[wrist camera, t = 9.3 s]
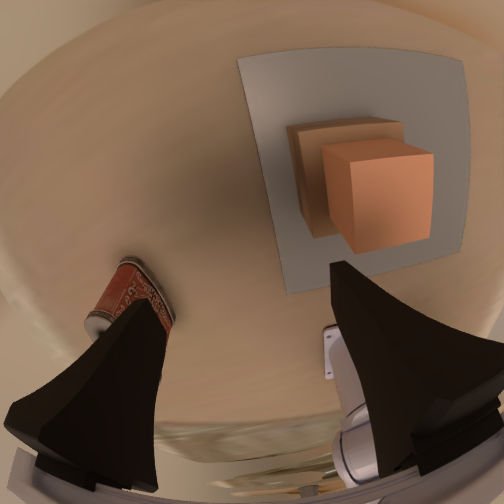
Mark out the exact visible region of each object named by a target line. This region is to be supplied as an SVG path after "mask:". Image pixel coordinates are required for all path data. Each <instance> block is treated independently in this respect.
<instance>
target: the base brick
mask: <svg viewBox="0 0 504 504" xmlns="http://www.w3.org/2000/svg"><path fill="white" fill-rule="evenodd" d="M286 131H287V136H288V141H289V146H290V152H291V157H292V163H293V169H294V174H295V180H296V186H297V193H298V199H299V205H300V212H301V214H302V216H303V218H304V220H305V222H306V224H307V226H308V228H309V230H310V232H311V234H312V236H313V238H314V239H315V238H320V237H325V236H330V235H335V234H340V232H339V230H338V229H337V227H336V226H335V224H334V223H333V221H332V220H331V219H330V215H329V205H328V196H327V188H326V180H325V172H324V164H323V157H322V151H321V146H324V145H331V144H339V143H347V142H355V141H365V140H375V139H387V138H390V139H393V140H397V141H400V142H403V143H404V132H403V122H400V121H395V120H389V119H384V118H378V117H358V118H346V119H336V120H327V121H319V122H311V123H304V124H297V125H291V126H286Z"/></svg>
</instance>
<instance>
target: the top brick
mask: <svg viewBox="0 0 504 504" xmlns="http://www.w3.org/2000/svg"><path fill="white" fill-rule="evenodd" d="M321 151H322V157H323V164H324V172H325V180H326V188H327V196H328V205H329V215H330V219H331V220H332V221H333V223H334V224H335V226H336V227H337V229H338V230H339V232H340V233H341V234H342V236H343V237H344V239H345V240H346V242H347V243H348V245H349V246H350V248H351V249H352V251H353V252H354V254H355V255H357V254H362V253H366V252H371V251H375V250H379V249H384V248H388V247H392V246H397V245H401V244H405V243H409V242H414V241H418V240H422V239H426V238H429V237H430V228H431V217H432V203H433V178H434V157H433V153H430V152H428V151H425V150H422V149H420V148H417V147H414V146H411V145H409V144H406V143H403V142H400V141H397V140H393V139H390V138H387V139H375V140H365V141H355V142H347V143H339V144H331V145H324V146H321Z"/></svg>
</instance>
